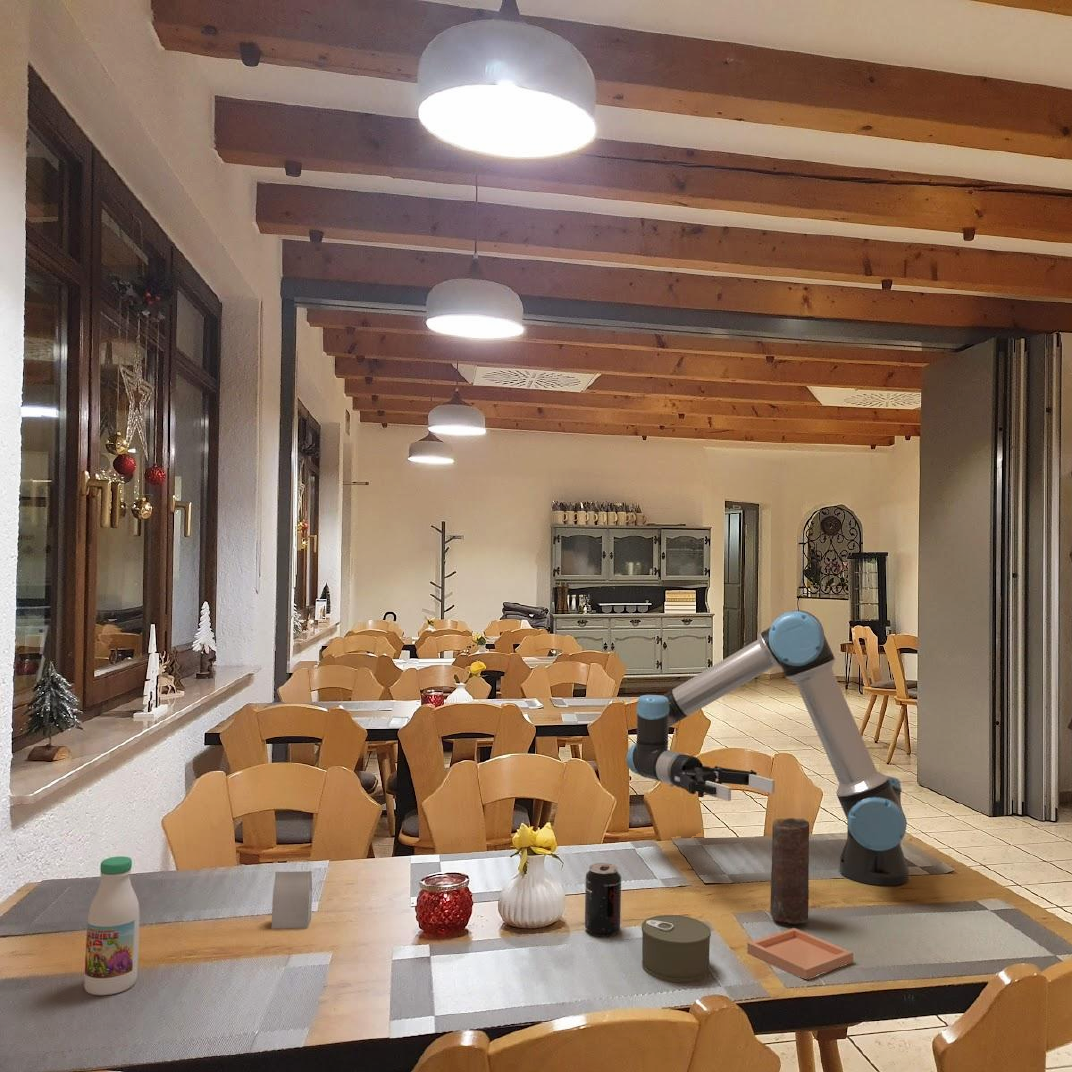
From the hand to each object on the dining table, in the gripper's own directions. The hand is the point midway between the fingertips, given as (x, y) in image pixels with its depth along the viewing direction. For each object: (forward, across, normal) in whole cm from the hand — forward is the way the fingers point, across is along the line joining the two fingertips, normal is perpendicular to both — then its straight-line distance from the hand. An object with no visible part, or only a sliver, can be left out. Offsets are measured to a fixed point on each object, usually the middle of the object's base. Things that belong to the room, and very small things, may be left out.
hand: (752, 790), depth 183 cm
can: (+13, +34, -24) cm, 44 cm away
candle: (+10, 0, -24) cm, 26 cm away
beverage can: (-6, +35, -24) cm, 43 cm away
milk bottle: (-31, +117, -25) cm, 123 cm away
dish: (+22, +12, -24) cm, 34 cm away
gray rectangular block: (-40, +84, -25) cm, 96 cm away
